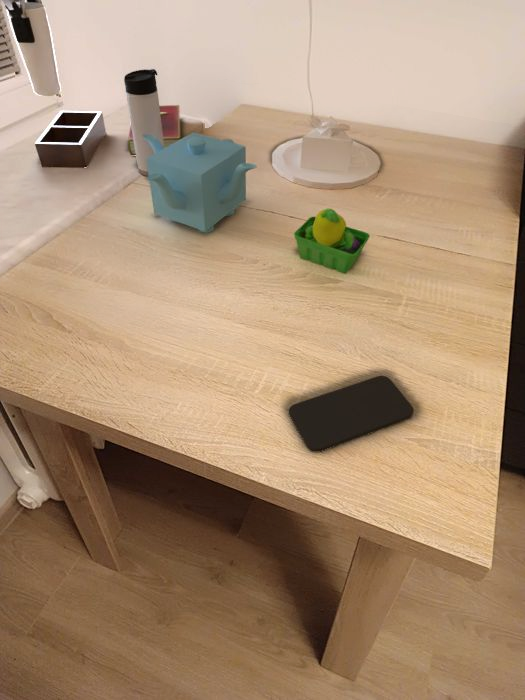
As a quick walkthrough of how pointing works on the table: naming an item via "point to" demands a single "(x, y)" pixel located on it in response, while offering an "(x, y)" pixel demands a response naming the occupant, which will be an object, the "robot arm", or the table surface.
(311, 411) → the phone
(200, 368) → the table surface
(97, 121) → the cup holder
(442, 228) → the table surface
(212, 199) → the teakettle
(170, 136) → the hardcover book
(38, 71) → the drinking glass
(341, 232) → the fruit basket
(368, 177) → the dish
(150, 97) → the travel mug
